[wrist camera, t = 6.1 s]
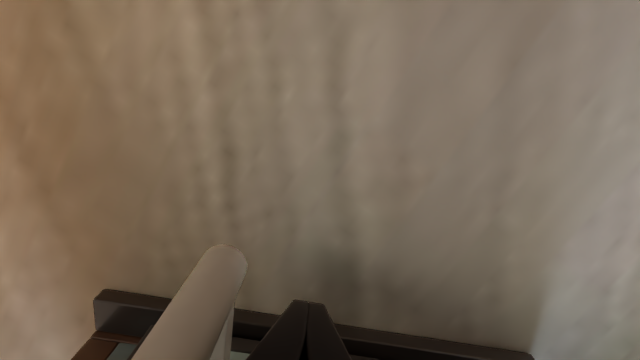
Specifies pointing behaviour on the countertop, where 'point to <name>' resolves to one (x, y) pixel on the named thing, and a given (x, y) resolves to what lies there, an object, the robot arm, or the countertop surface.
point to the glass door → (203, 314)
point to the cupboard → (261, 334)
